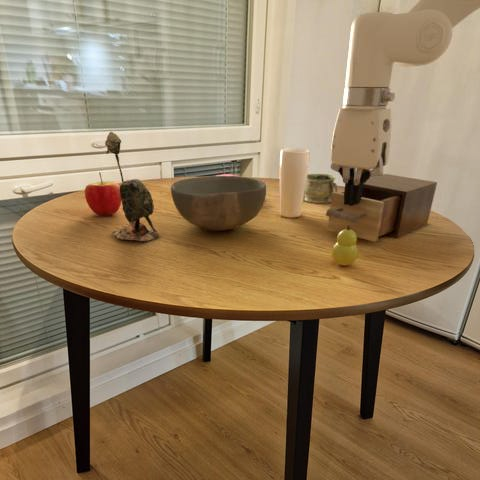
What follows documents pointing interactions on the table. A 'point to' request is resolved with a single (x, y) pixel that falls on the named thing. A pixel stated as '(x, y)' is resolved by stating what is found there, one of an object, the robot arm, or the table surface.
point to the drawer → (365, 214)
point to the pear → (345, 247)
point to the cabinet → (406, 200)
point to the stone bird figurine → (132, 201)
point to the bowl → (218, 200)
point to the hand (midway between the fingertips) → (351, 203)
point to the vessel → (319, 188)
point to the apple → (103, 197)
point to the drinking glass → (293, 180)
